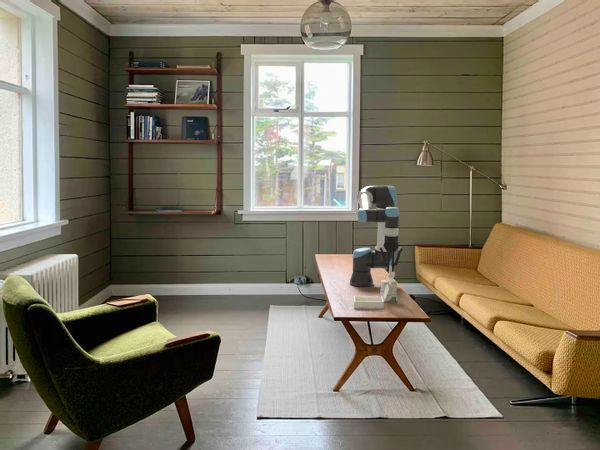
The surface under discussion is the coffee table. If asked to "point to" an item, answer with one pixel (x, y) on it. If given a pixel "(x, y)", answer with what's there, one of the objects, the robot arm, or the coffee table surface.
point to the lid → (388, 285)
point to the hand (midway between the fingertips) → (390, 277)
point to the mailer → (368, 302)
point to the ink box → (392, 291)
